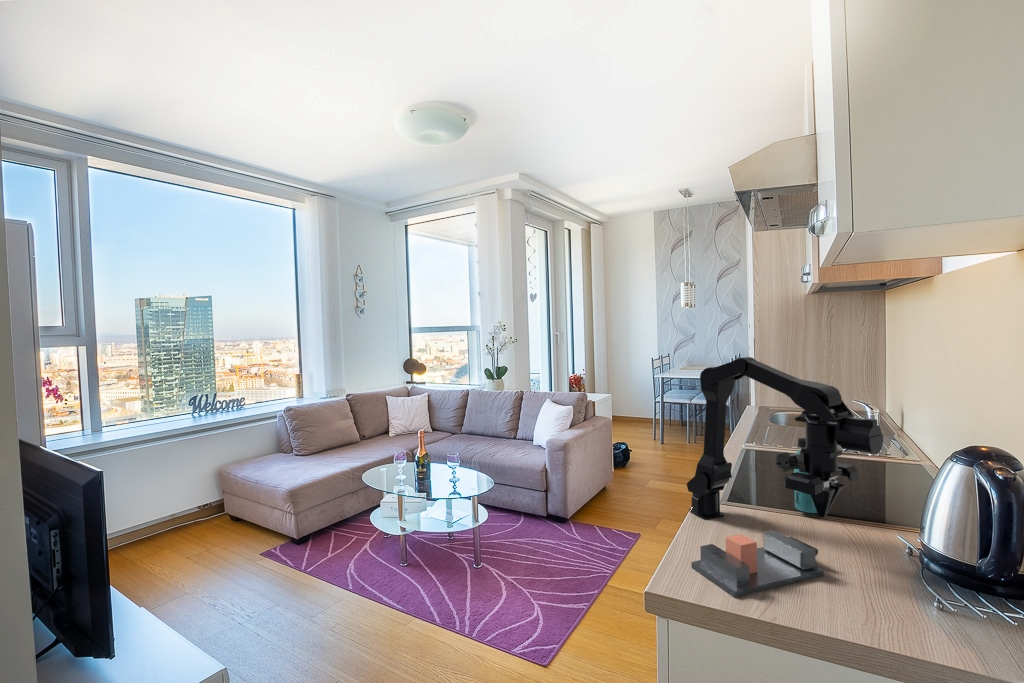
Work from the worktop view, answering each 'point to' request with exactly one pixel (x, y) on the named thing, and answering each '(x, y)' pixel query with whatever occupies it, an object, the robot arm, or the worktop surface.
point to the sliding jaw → (790, 549)
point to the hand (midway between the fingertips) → (822, 516)
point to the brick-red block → (743, 550)
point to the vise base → (736, 573)
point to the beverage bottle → (801, 499)
